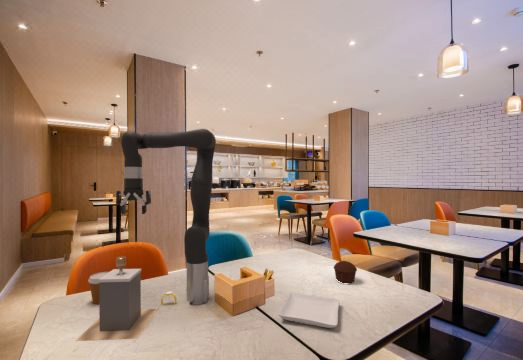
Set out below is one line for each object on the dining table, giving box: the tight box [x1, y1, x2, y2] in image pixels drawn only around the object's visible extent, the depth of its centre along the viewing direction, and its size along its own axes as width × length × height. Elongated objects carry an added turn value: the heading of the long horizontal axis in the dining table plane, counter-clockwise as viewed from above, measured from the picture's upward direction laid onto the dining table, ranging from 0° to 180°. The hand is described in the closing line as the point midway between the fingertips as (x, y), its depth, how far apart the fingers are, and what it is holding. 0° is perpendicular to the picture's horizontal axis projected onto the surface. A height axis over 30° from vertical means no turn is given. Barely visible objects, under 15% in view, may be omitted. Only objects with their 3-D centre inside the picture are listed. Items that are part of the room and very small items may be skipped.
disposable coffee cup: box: [88, 271, 110, 305], centre depth 115 cm, size 10×10×12 cm
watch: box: [160, 290, 177, 306], centre depth 111 cm, size 6×3×6 cm, turn 98°
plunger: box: [115, 256, 127, 275], centre depth 97 cm, size 7×7×21 cm
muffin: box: [333, 260, 358, 284], centre depth 138 cm, size 12×11×10 cm
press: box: [98, 268, 142, 331], centre depth 97 cm, size 12×10×18 cm
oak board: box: [75, 308, 159, 342], centre depth 97 cm, size 20×20×1 cm
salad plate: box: [278, 292, 341, 329], centre depth 105 cm, size 21×21×3 cm
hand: (133, 214), depth 117 cm, fingers open, 8 cm apart
